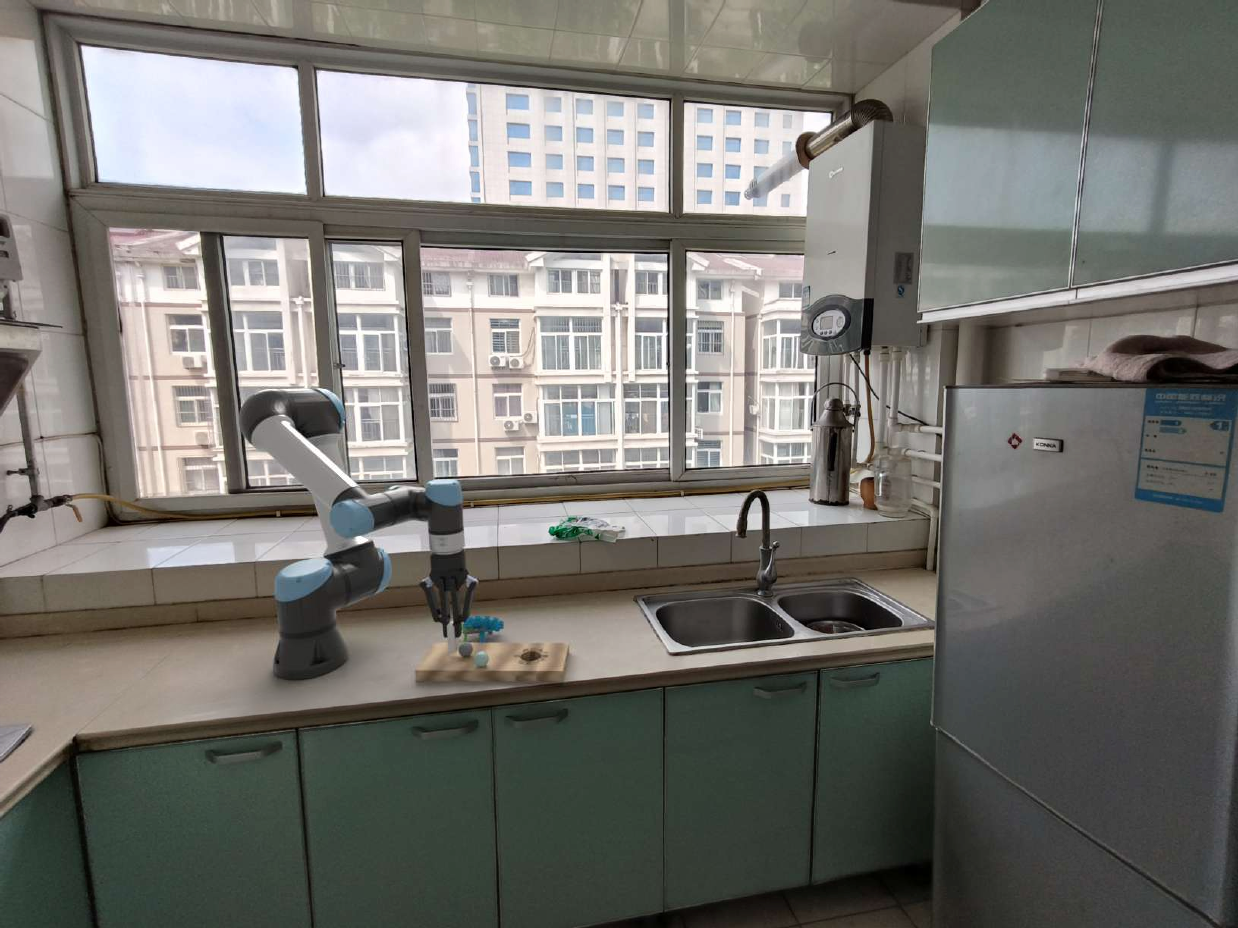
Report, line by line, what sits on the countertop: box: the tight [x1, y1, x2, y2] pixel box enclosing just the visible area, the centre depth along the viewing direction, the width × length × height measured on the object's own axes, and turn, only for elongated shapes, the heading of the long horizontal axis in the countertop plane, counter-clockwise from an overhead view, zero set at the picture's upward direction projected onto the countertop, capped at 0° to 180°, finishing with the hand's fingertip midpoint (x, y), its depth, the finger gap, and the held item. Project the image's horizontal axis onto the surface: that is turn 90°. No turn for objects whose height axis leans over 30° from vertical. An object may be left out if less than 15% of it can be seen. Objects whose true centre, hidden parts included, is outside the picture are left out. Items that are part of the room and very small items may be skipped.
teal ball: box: [474, 651, 489, 667], centre depth 126 cm, size 3×3×3 cm
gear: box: [461, 615, 505, 643], centre depth 143 cm, size 11×6×10 cm
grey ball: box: [458, 641, 473, 657], centre depth 130 cm, size 3×3×3 cm
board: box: [414, 642, 570, 683], centre depth 131 cm, size 32×13×2 cm, turn 89°
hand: (453, 650), depth 130 cm, fingers closed
